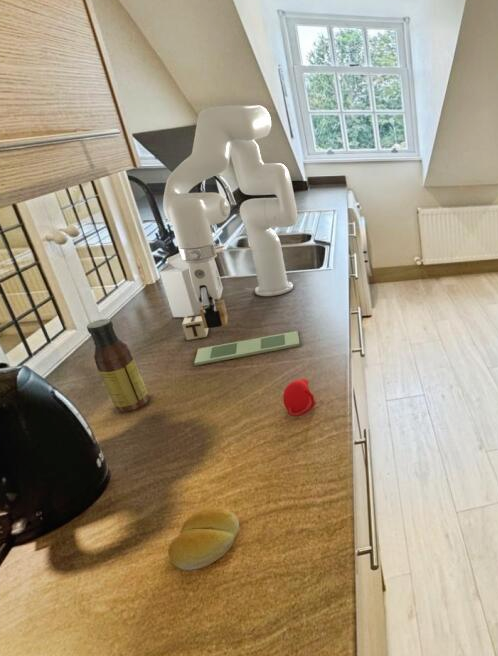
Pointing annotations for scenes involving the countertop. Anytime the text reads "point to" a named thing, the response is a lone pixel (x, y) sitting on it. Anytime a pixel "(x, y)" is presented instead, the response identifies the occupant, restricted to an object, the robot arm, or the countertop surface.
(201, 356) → the word mat
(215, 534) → the bread roll
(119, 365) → the sauce bottle
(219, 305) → the letter I
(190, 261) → the robot arm
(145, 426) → the countertop surface
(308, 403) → the cap
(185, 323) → the letter T
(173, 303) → the milk carton
